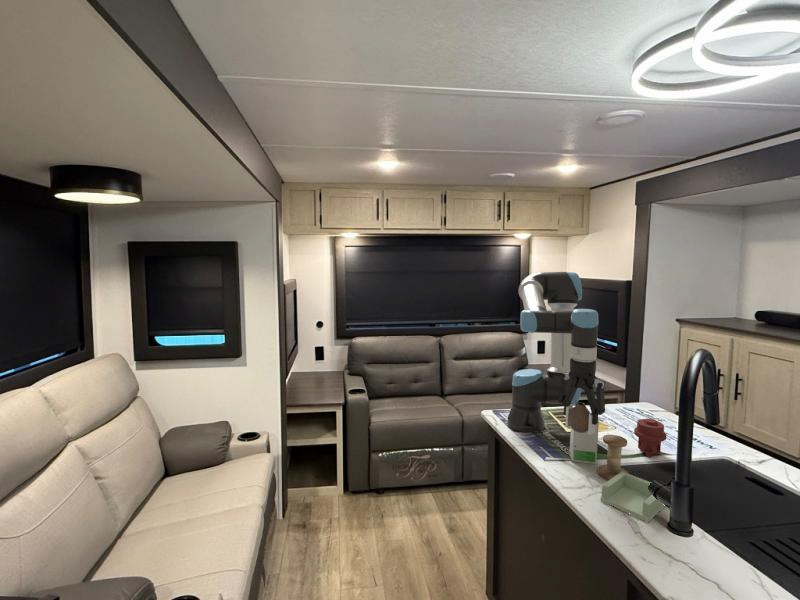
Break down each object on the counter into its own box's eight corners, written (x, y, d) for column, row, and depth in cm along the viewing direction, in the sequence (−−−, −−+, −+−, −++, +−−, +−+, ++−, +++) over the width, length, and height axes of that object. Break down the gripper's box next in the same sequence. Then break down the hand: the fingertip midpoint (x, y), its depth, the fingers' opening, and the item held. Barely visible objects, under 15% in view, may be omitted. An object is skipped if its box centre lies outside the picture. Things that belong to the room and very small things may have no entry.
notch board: (600, 500, 125) (601, 485, 124) (620, 485, 133) (621, 470, 132) (648, 522, 115) (649, 505, 114) (667, 504, 123) (668, 488, 122)
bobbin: (592, 474, 140) (594, 438, 139) (606, 465, 146) (607, 431, 144) (620, 485, 133) (622, 448, 132) (633, 476, 139) (635, 440, 137)
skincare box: (571, 461, 148) (573, 418, 147) (568, 453, 155) (570, 411, 153) (597, 464, 146) (599, 420, 145) (593, 455, 153) (595, 413, 151)
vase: (590, 426, 138) (591, 400, 137) (593, 436, 132) (594, 408, 130) (567, 424, 140) (568, 399, 139) (569, 433, 133) (570, 406, 132)
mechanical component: (652, 462, 147) (626, 450, 156) (671, 456, 152) (645, 445, 161) (655, 428, 146) (628, 418, 155) (673, 423, 150) (646, 413, 159)
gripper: (547, 354, 138) (545, 422, 141) (609, 368, 123) (605, 443, 126) (560, 351, 143) (558, 416, 146) (621, 363, 127) (617, 436, 130)
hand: (579, 429), depth 136 cm, fingers closed on vase, 7 cm apart
